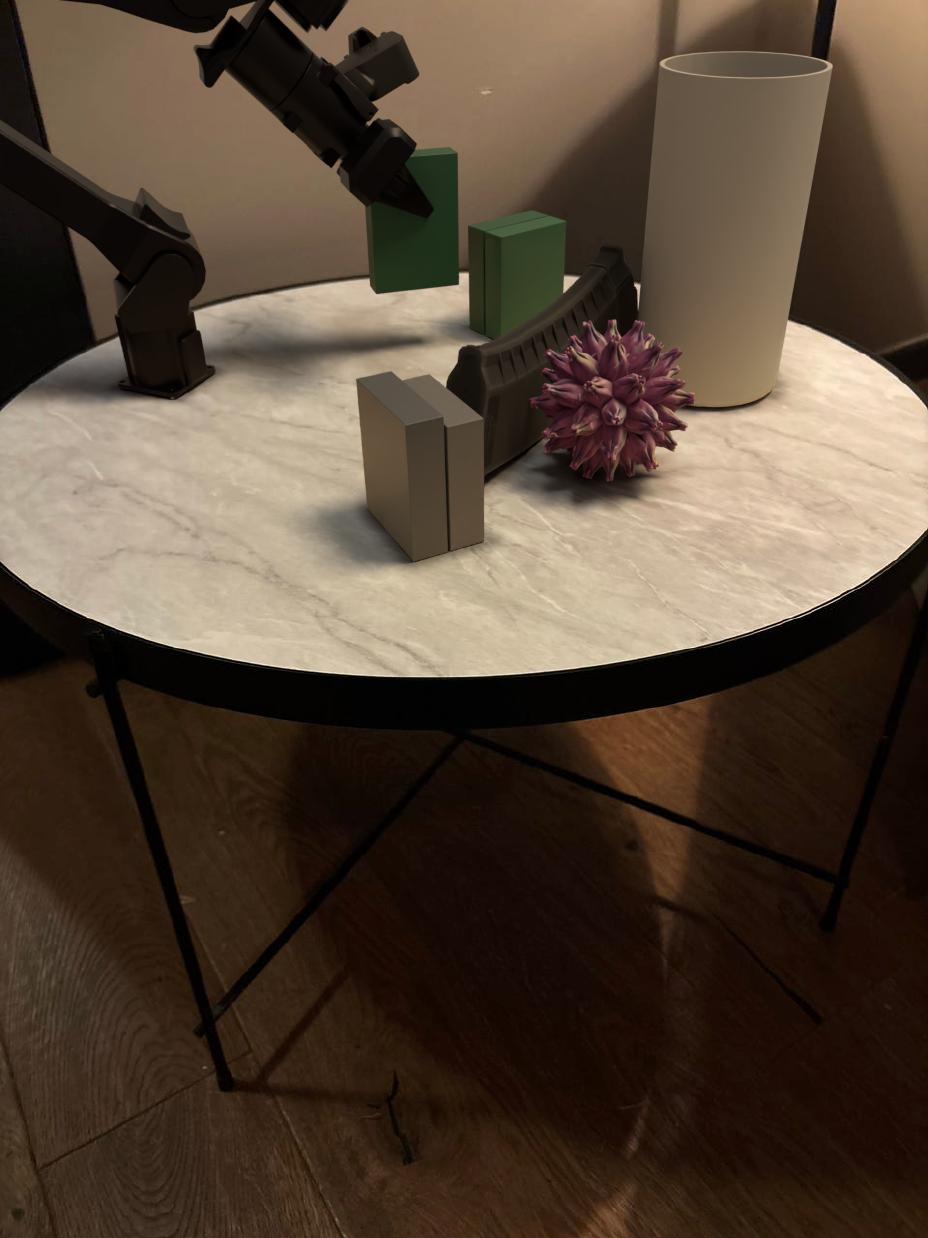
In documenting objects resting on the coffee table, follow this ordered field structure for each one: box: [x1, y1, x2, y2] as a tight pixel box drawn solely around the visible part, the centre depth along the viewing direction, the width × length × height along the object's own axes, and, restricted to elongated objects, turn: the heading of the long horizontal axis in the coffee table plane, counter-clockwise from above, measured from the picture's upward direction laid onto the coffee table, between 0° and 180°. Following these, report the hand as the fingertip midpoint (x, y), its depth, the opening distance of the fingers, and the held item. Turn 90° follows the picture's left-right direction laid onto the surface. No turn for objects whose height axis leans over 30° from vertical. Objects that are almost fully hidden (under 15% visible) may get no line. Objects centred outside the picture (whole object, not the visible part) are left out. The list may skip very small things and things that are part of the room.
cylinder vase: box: [637, 50, 833, 408], centre depth 83 cm, size 12×12×25 cm
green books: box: [467, 209, 567, 340], centre depth 99 cm, size 8×5×10 cm, turn 127°
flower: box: [529, 319, 695, 482], centre depth 74 cm, size 12×12×12 cm
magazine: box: [445, 242, 639, 477], centre depth 81 cm, size 17×3×30 cm
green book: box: [364, 146, 460, 295], centre depth 91 cm, size 8×2×12 cm, turn 108°
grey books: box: [355, 370, 485, 563], centre depth 69 cm, size 8×5×10 cm
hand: (426, 209), depth 91 cm, fingers closed on green book, 2 cm apart
